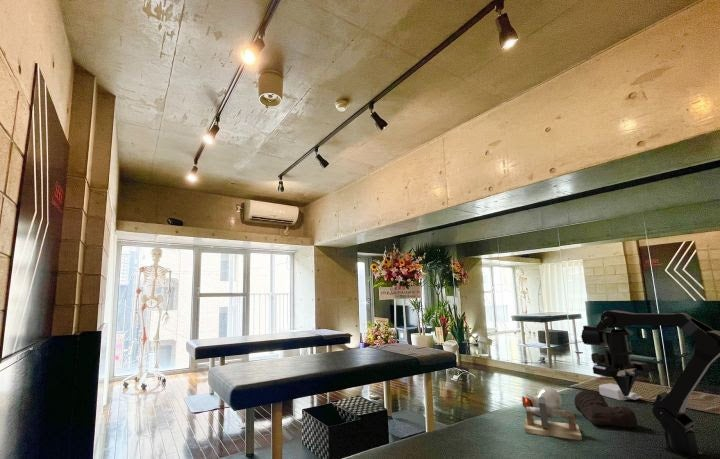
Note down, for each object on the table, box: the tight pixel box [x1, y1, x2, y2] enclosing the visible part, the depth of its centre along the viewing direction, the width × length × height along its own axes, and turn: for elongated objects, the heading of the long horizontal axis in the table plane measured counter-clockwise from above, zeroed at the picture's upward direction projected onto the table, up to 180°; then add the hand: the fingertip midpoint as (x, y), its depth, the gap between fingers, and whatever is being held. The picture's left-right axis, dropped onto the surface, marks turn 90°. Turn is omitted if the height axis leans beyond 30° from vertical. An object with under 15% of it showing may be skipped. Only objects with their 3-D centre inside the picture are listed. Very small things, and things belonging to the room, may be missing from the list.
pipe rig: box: [524, 407, 583, 441], centre depth 121 cm, size 17×10×7 cm, turn 64°
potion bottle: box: [521, 386, 563, 410], centre depth 141 cm, size 9×10×15 cm
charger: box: [598, 382, 643, 401], centre depth 153 cm, size 5×9×15 cm
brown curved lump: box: [573, 389, 638, 429], centre depth 128 cm, size 10×15×15 cm
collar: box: [539, 397, 548, 428], centre depth 122 cm, size 2×8×8 cm, turn 153°
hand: (626, 395), depth 115 cm, fingers closed
